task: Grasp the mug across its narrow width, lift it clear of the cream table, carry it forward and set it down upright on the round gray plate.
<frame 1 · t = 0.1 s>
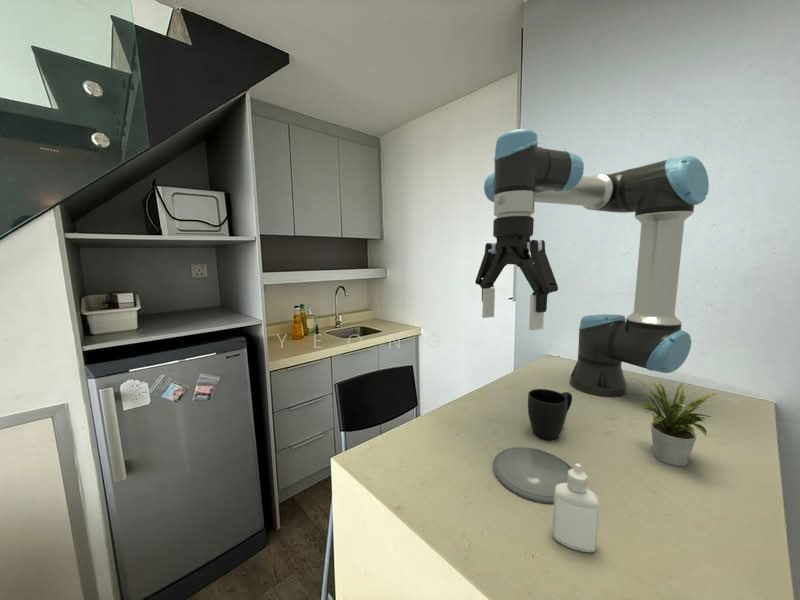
hand: (509, 322, 66), 28 cm above the kitchen island, fingers open, 13 cm apart
eye dropper bottle: (573, 541, 47), on the kitchen island
house plant: (661, 457, 66), on the kitchen island
round gray plate: (533, 474, 61), on the kitchen island
mug: (551, 433, 75), on the kitchen island
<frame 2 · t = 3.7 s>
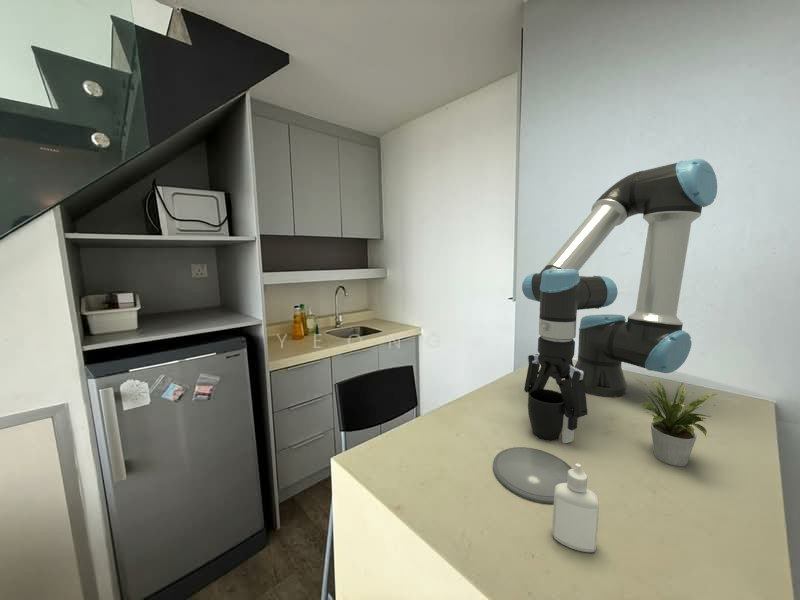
hand: (551, 431, 75), 0 cm above the kitchen island, fingers closed on mug, 8 cm apart
mug: (551, 433, 75), on the kitchen island, touching gripper
everything else where it was.
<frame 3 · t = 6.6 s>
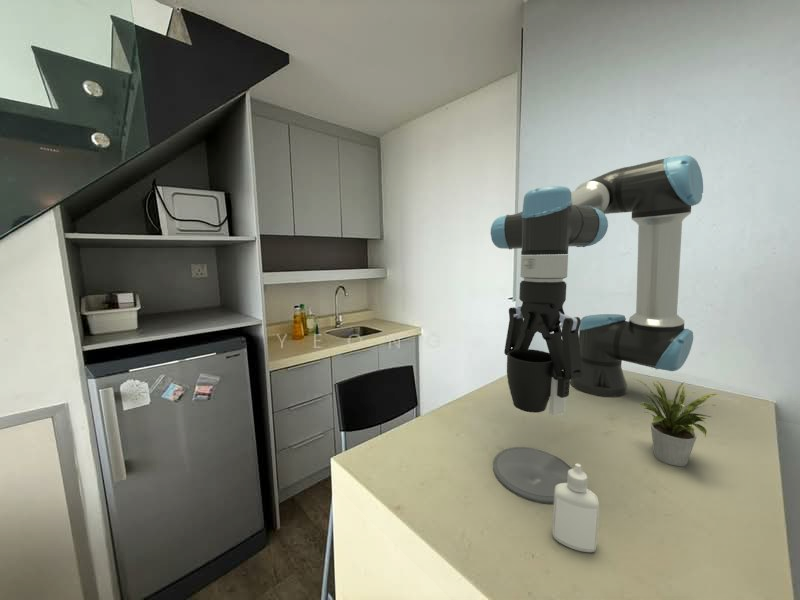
hand: (537, 402, 59), 14 cm above the kitchen island, fingers closed on mug, 8 cm apart
mug: (536, 404, 59), point 14 cm above the kitchen island, touching gripper
everything else where it was.
when the fingers open (2 cm above the kitchen island, at t = 9.5 s): mug drops 1 cm, resting on round gray plate.
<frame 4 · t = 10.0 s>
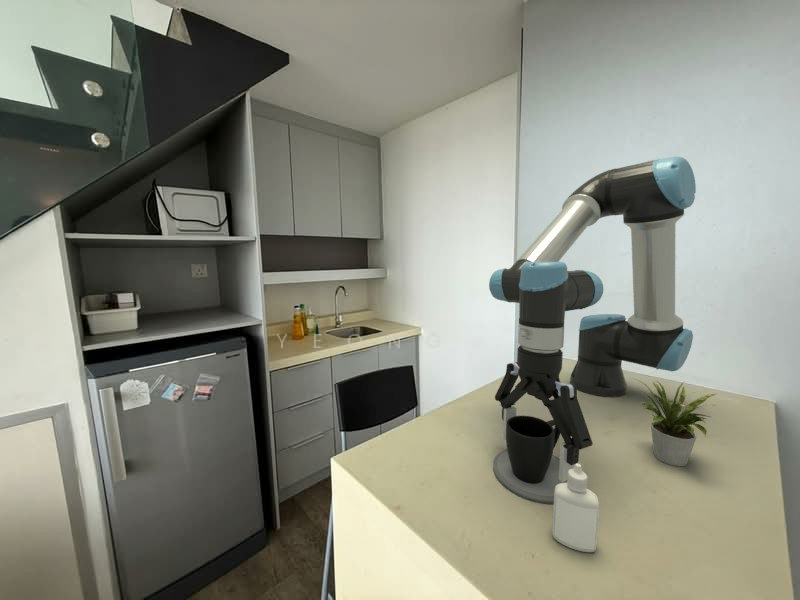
hand: (534, 456, 60), 4 cm above the kitchen island, fingers open, 13 cm apart
mug: (535, 471, 61), point 1 cm above the kitchen island, touching round gray plate
everything else where it was.
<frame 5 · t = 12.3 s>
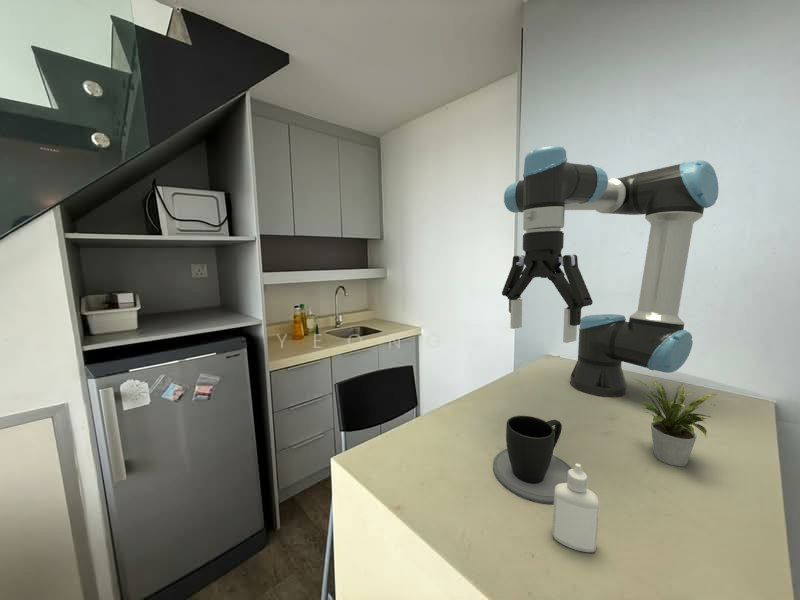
hand: (540, 334, 67), 25 cm above the kitchen island, fingers open, 13 cm apart
nothing on the kitchen island moved.
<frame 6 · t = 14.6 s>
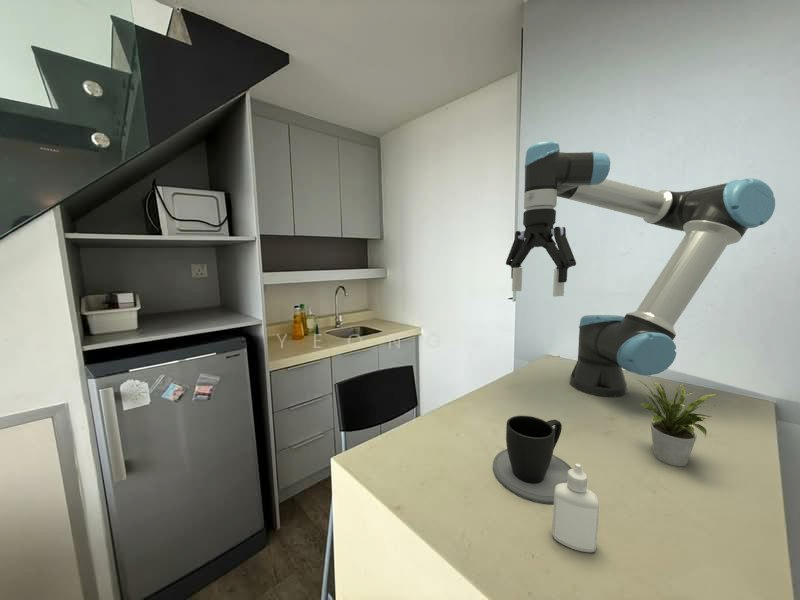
hand: (535, 293, 83), 32 cm above the kitchen island, fingers open, 13 cm apart
nothing on the kitchen island moved.
at the end: mug inside the target area on the round gray plate (0.4 cm from its centre), point 0.7 cm above the round gray plate's base; mug touching round gray plate; mug tilted 0° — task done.
